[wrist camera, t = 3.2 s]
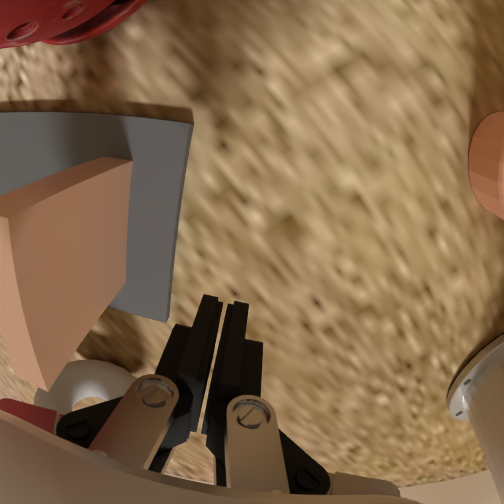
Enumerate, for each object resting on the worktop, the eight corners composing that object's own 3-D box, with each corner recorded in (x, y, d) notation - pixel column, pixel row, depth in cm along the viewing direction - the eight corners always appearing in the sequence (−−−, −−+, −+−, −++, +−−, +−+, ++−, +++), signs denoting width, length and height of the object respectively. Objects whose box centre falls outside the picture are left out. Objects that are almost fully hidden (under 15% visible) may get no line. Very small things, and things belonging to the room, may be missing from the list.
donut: (165, 368, 24) (128, 471, 15) (166, 393, 25) (135, 488, 16) (63, 337, 24) (6, 417, 15) (69, 363, 25) (22, 440, 16)
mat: (194, 123, 16) (190, 123, 15) (169, 316, 21) (166, 322, 21) (-2, 112, 16) (-9, 113, 15) (5, 265, 21) (-1, 269, 20)
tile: (133, 160, 16) (8, 218, 7) (126, 282, 20) (47, 391, 11) (101, 156, 16) (-29, 208, 7) (98, 274, 20) (13, 374, 10)
